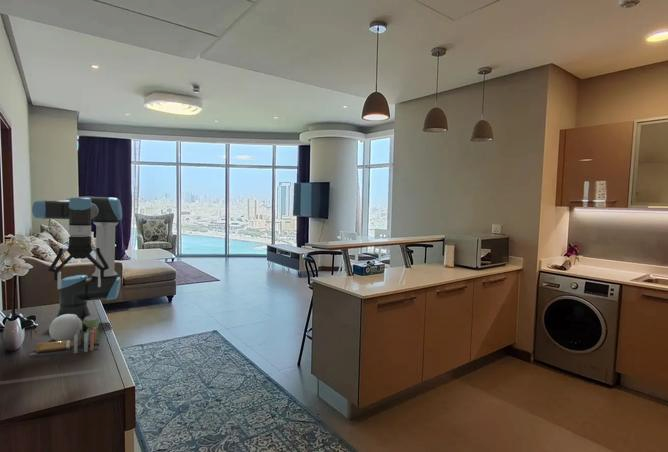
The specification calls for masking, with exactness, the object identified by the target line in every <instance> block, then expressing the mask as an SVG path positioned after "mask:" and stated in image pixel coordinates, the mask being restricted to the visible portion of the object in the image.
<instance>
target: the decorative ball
mask: <svg viewBox="0 0 668 452" xmlns="http://www.w3.org/2000/svg"><path fill="white" fill-rule="evenodd" d="M55 318H56V317H55ZM55 318H54V319H53V320H52V321H51V323H50V325H49V328H48V333H49V335H50V337H51V339H52V340H54V341H55V342H56V341H66V340H74V335H75V333H76V331H77V330H78V329H81V331H83V323H82V321H81V320H80V318H78V316H77V315H75V314H64V315H61V316H59V317H57V318H56V319H55Z"/></svg>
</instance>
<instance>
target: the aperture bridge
mask: <svg viewBox="0 0 668 452" xmlns="http://www.w3.org/2000/svg"><path fill="white" fill-rule="evenodd" d="M94 343H97V341H96V327H93V328H92V331H91V343H90V351H91V352H94V351H93V350H94Z"/></svg>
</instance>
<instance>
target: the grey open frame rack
mask: <svg viewBox="0 0 668 452" xmlns="http://www.w3.org/2000/svg"><path fill="white" fill-rule="evenodd" d="M100 345H101V343H100V342H96V343H94V350H93V351H90V344H88V352H87V353H89V352H98V351H99V347H100ZM81 353H85V352H84V343H81V345H78V353H77V354H81ZM71 354H75V353H74V349H73V350H66V351H56V352H47V353H38V354H36V348H33V349H32V352H31V353H29V354H28V357H27V359H34V358H45V357H53V356H60V355H61V356H62V355H71Z"/></svg>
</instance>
